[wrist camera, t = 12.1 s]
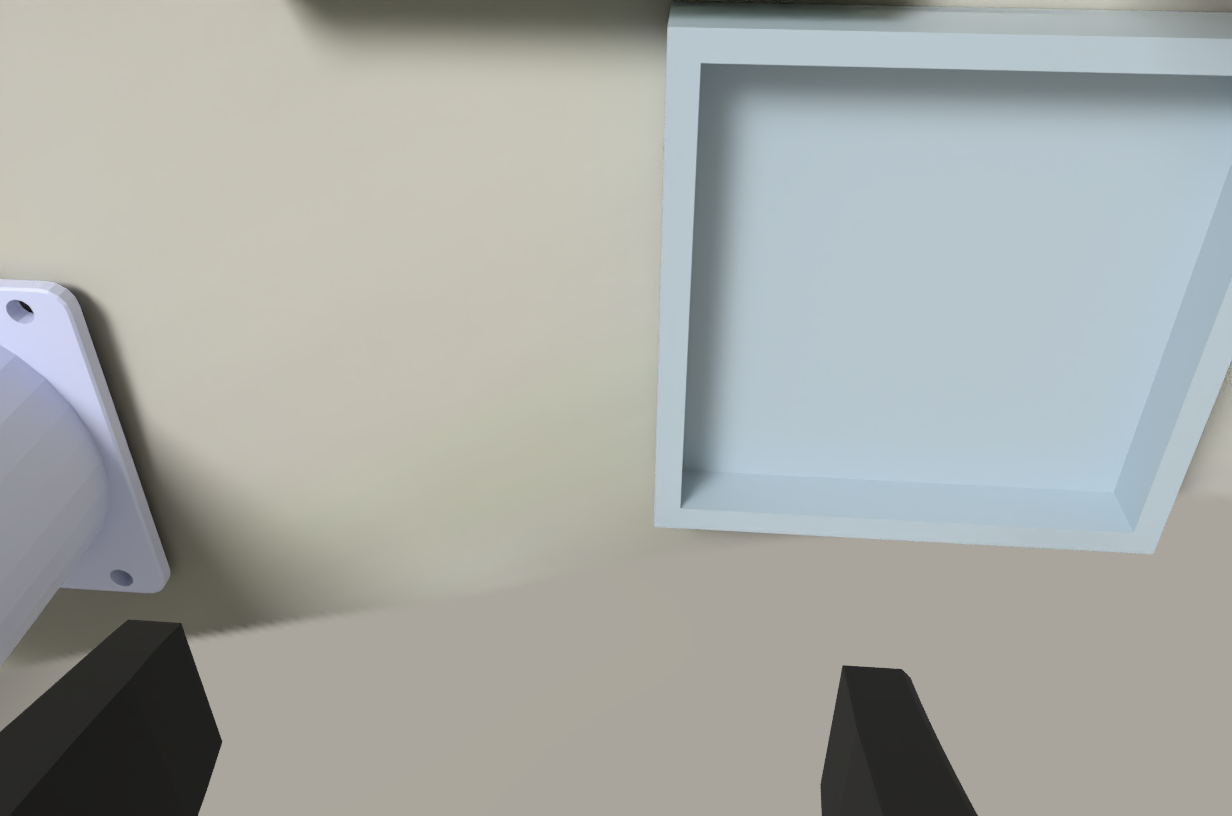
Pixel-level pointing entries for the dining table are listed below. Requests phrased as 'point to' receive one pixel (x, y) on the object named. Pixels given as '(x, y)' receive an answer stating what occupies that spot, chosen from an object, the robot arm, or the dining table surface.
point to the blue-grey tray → (941, 270)
